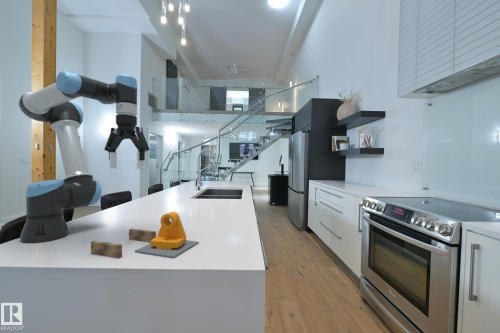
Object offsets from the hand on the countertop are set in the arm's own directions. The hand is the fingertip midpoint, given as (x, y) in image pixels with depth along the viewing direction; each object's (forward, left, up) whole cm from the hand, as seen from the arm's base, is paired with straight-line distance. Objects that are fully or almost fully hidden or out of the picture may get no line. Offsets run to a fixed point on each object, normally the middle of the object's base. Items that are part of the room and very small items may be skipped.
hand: (126, 168), depth 97 cm
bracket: (+21, -1, -28) cm, 35 cm away
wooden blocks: (+6, -6, -29) cm, 30 cm away
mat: (+21, -1, -29) cm, 36 cm away
